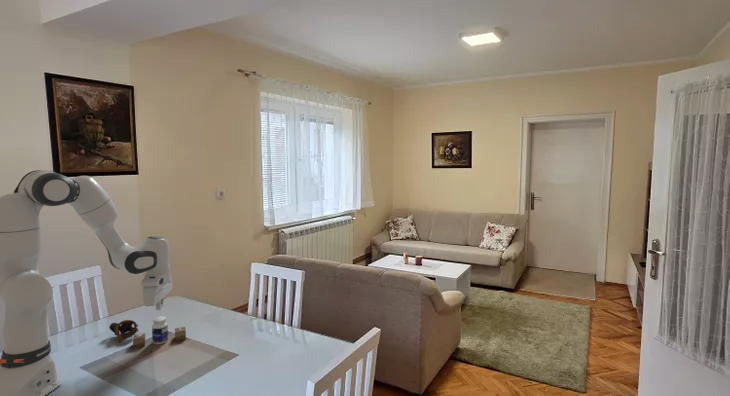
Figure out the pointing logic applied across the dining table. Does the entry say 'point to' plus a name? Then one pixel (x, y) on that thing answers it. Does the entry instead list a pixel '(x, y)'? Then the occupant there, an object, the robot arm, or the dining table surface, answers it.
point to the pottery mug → (124, 329)
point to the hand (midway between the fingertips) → (159, 308)
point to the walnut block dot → (139, 340)
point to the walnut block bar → (180, 333)
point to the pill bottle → (159, 330)
